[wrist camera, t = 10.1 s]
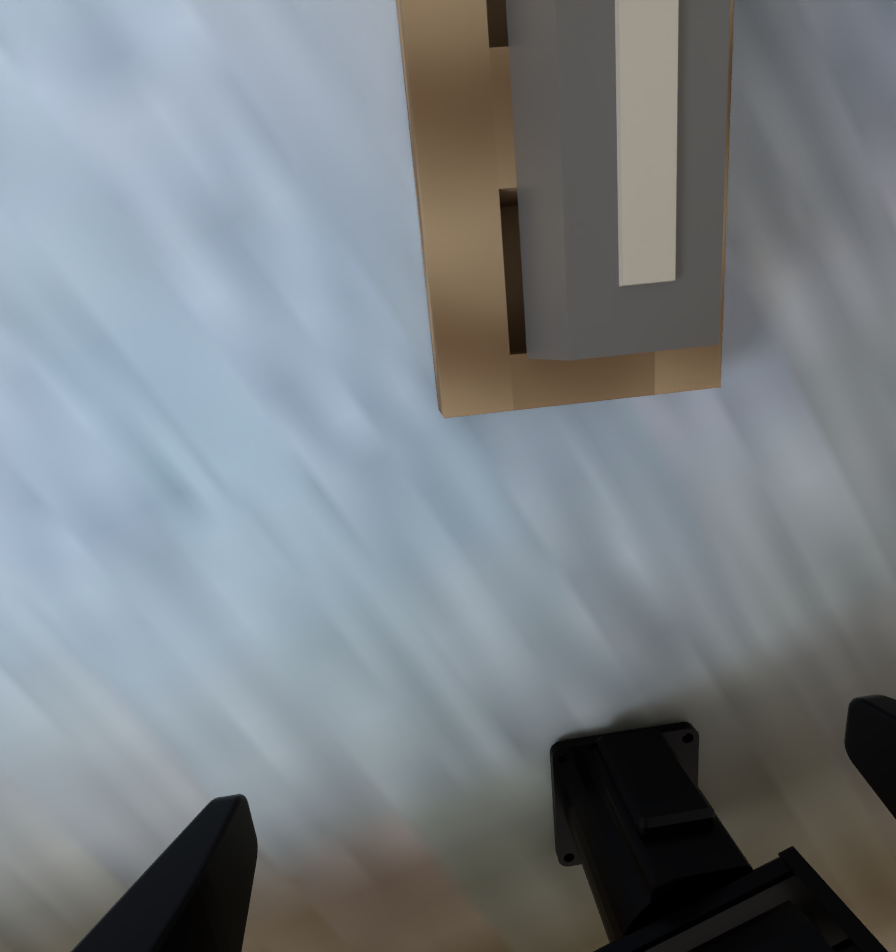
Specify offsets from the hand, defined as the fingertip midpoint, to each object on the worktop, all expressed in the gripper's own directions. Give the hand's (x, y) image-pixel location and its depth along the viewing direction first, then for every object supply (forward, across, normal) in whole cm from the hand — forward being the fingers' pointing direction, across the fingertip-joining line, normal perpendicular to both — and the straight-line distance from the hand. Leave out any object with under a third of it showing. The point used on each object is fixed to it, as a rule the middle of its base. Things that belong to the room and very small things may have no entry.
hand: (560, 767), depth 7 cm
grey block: (+12, -4, -12) cm, 17 cm away
